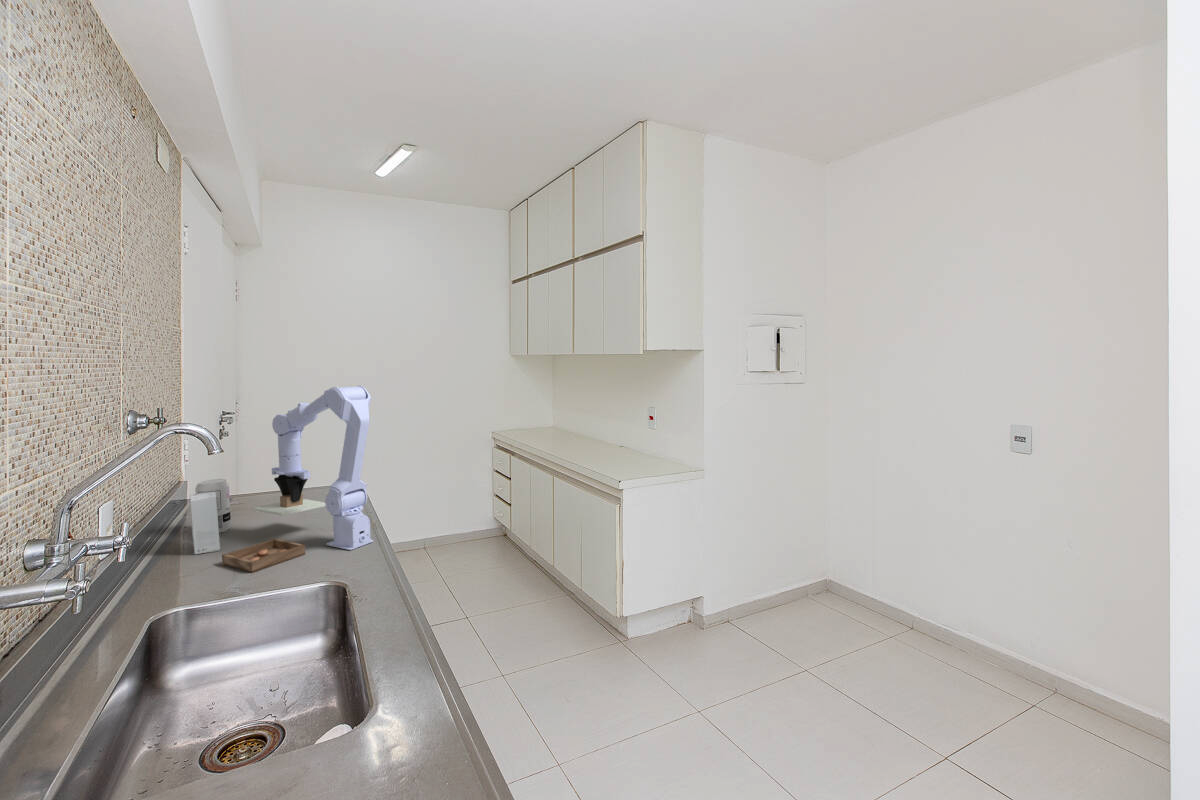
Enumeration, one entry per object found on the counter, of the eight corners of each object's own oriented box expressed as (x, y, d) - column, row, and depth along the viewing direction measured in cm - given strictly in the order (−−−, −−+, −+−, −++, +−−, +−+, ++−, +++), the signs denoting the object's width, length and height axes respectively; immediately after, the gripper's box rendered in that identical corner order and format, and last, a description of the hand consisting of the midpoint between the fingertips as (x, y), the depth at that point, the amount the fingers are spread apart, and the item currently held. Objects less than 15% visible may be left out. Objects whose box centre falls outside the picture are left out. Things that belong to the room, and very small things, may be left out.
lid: (328, 505, 167) (329, 493, 167) (281, 515, 154) (281, 502, 154) (300, 500, 173) (300, 488, 173) (252, 509, 159) (252, 497, 159)
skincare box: (220, 550, 149) (217, 496, 148) (192, 555, 146) (189, 500, 145) (219, 542, 156) (216, 490, 155) (192, 546, 152) (189, 493, 151)
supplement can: (191, 533, 164) (188, 483, 163) (219, 525, 171) (217, 477, 170) (209, 536, 161) (206, 485, 160) (237, 528, 168) (235, 480, 167)
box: (305, 554, 147) (304, 545, 147) (252, 572, 134) (251, 562, 134) (276, 547, 152) (275, 538, 152) (222, 564, 140) (221, 554, 139)
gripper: (260, 455, 162) (262, 500, 163) (293, 459, 155) (295, 506, 157) (283, 451, 168) (285, 495, 169) (316, 455, 162) (317, 501, 163)
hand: (291, 500), depth 163 cm, fingers closed on lid, 3 cm apart
